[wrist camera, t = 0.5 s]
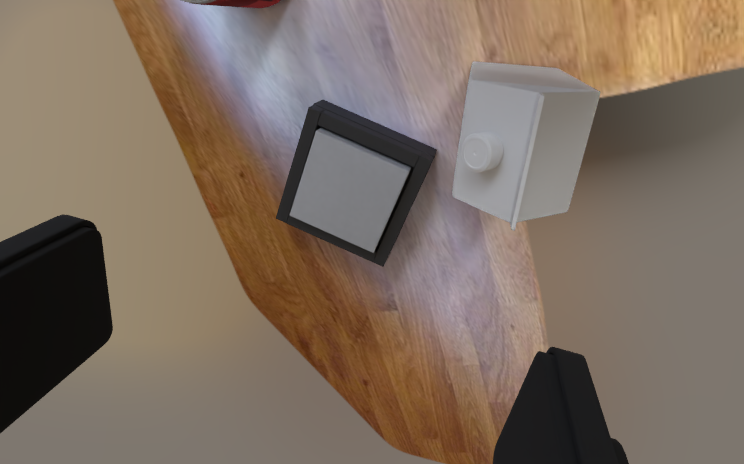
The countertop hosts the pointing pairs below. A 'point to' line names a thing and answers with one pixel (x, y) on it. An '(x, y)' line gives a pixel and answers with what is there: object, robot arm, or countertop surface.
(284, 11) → the countertop surface
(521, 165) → the milk carton
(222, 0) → the canned food
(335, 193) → the scale pan
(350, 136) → the scale
